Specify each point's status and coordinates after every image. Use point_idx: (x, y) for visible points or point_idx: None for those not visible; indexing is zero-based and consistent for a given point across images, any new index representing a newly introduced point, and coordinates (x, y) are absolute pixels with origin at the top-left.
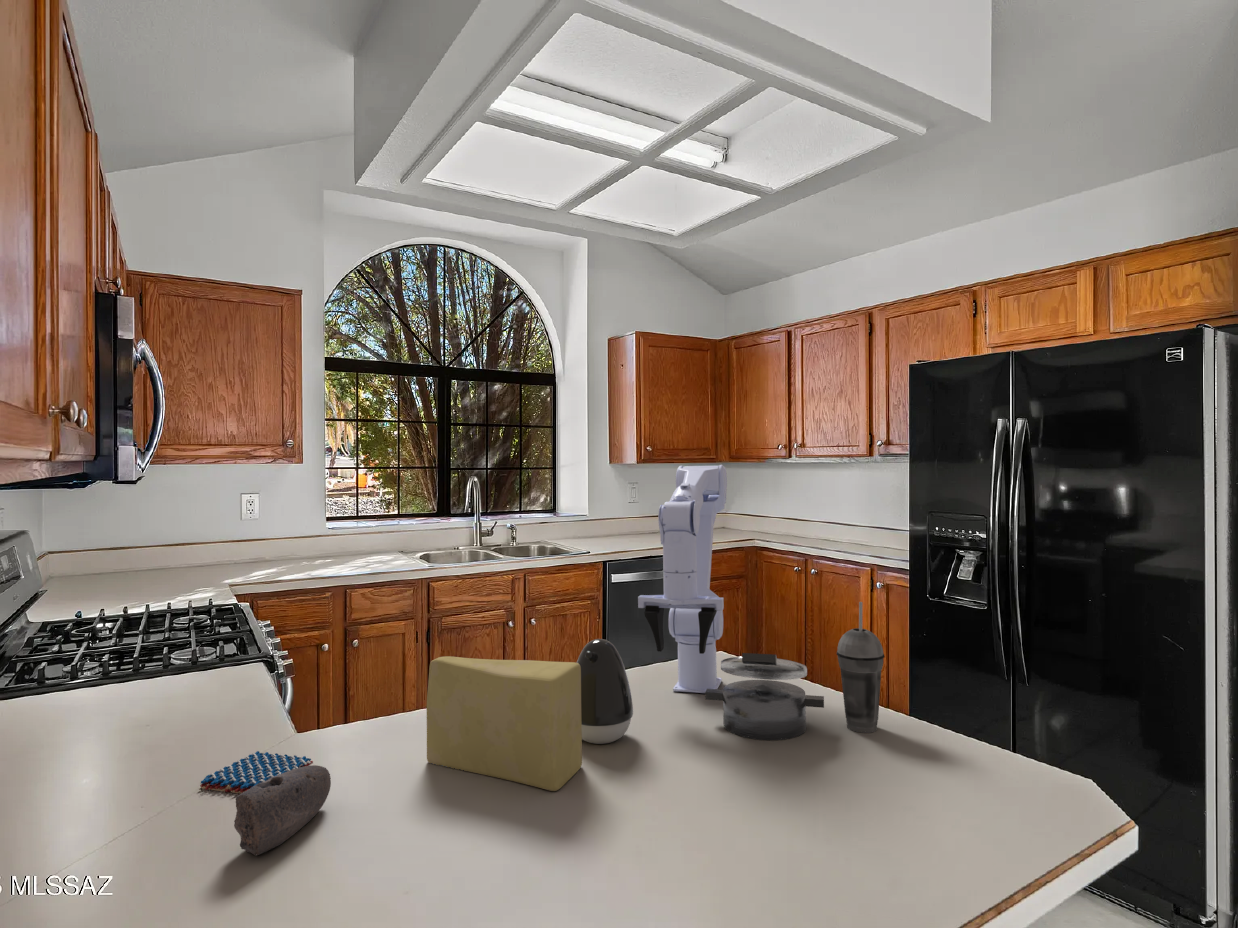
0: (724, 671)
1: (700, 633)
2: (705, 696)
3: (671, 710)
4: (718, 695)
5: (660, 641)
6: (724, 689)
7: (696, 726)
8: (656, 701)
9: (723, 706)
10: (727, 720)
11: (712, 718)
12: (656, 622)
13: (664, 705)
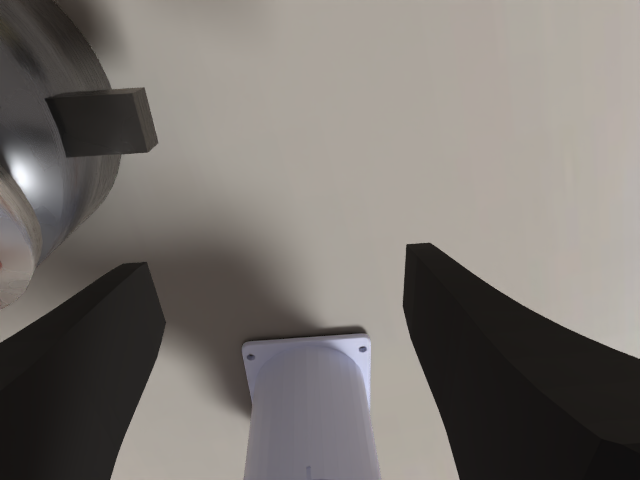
0: (28, 207)
1: (49, 340)
2: (139, 91)
3: (331, 173)
4: (73, 95)
5: (427, 282)
6: (35, 116)
7: (192, 23)
8: (399, 242)
9: (61, 68)
10: (42, 12)
11: (170, 132)
12: (533, 364)
13: (366, 214)
